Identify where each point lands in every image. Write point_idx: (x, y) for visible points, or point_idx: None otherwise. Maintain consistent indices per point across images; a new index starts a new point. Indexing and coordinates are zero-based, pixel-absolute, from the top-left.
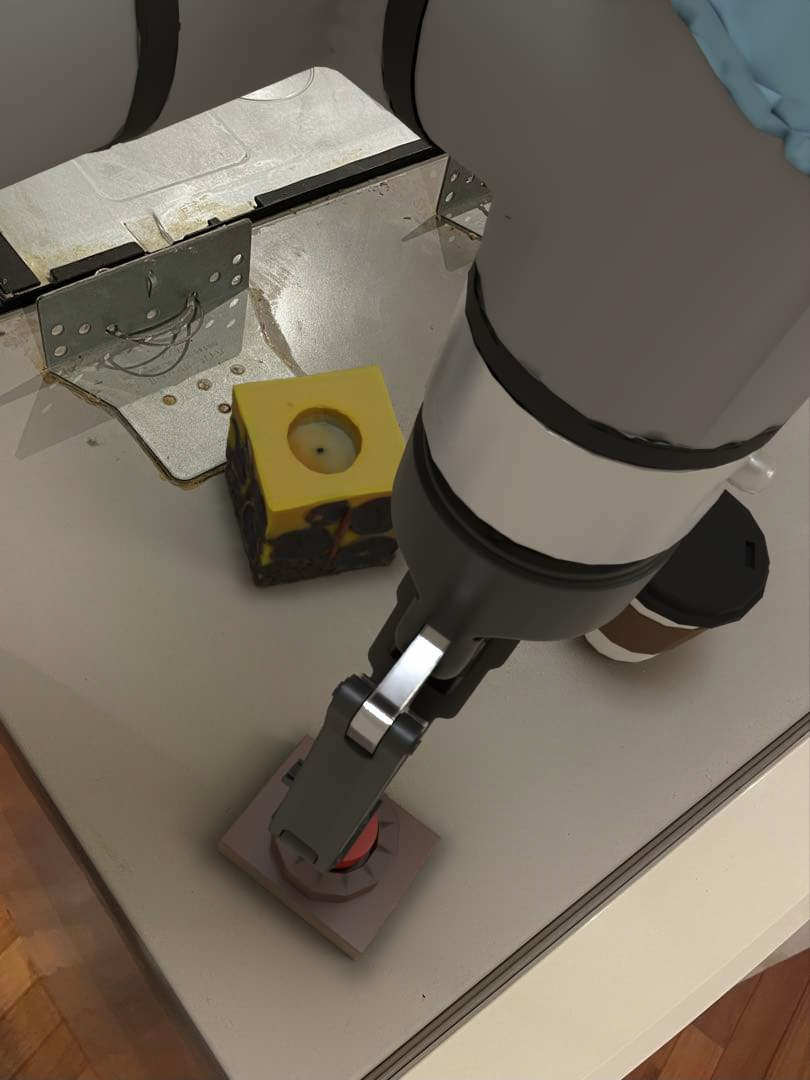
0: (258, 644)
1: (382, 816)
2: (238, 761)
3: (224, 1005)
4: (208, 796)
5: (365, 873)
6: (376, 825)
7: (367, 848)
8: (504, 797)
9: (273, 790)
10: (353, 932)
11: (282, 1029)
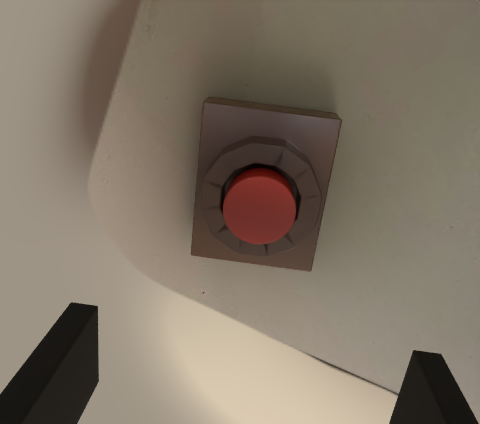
0: (423, 6)
1: (293, 232)
2: (291, 66)
3: (113, 170)
4: (246, 60)
5: (238, 240)
6: (275, 239)
7: (250, 242)
8: (378, 290)
9: (272, 121)
10: (201, 242)
11: (125, 216)
